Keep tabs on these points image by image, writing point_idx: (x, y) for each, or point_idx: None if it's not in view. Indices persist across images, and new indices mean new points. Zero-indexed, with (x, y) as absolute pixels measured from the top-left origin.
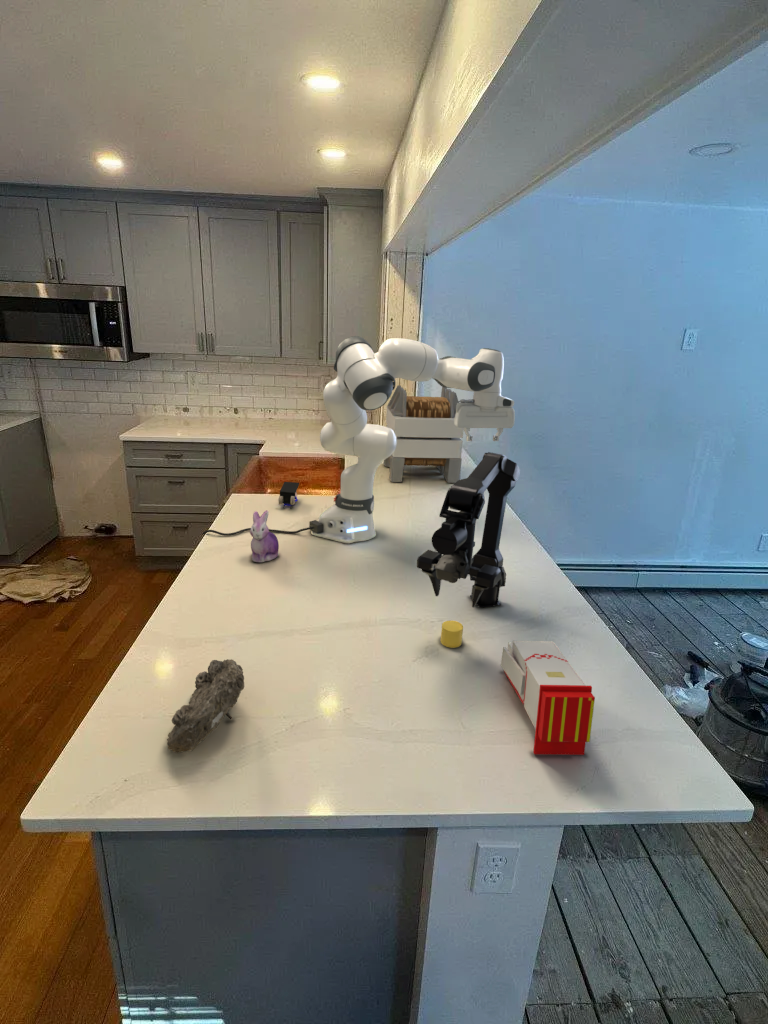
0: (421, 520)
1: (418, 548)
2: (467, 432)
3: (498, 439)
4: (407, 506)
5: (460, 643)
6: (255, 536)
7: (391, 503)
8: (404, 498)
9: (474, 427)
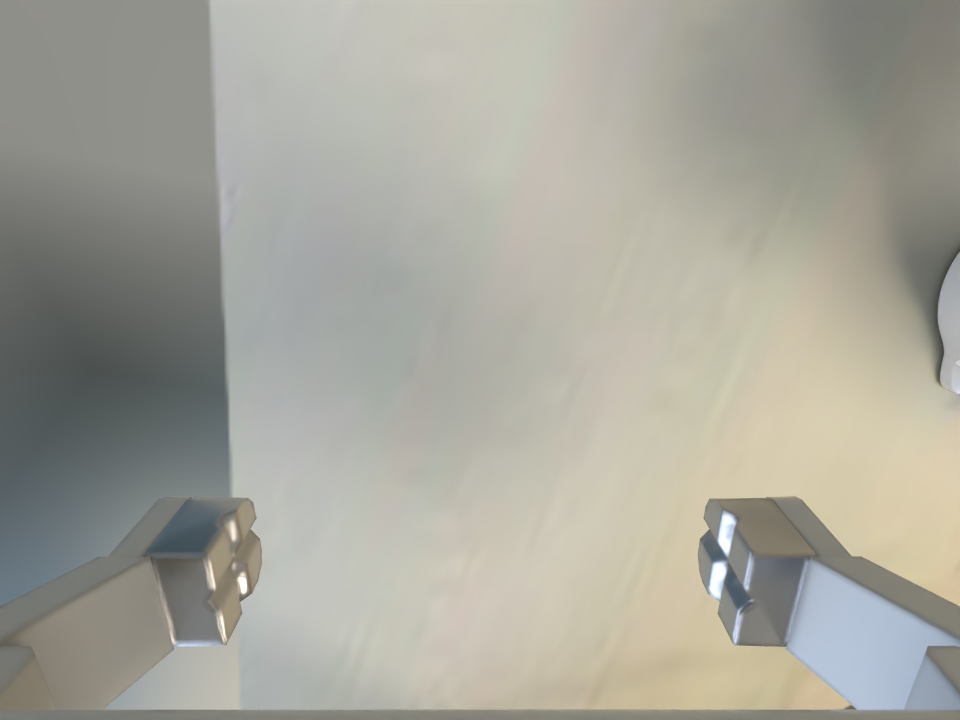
0: (660, 418)
1: (822, 72)
2: (954, 620)
3: (152, 509)
4: (657, 572)
5: None
6: None
7: (713, 607)
8: (635, 653)
9: (912, 717)
